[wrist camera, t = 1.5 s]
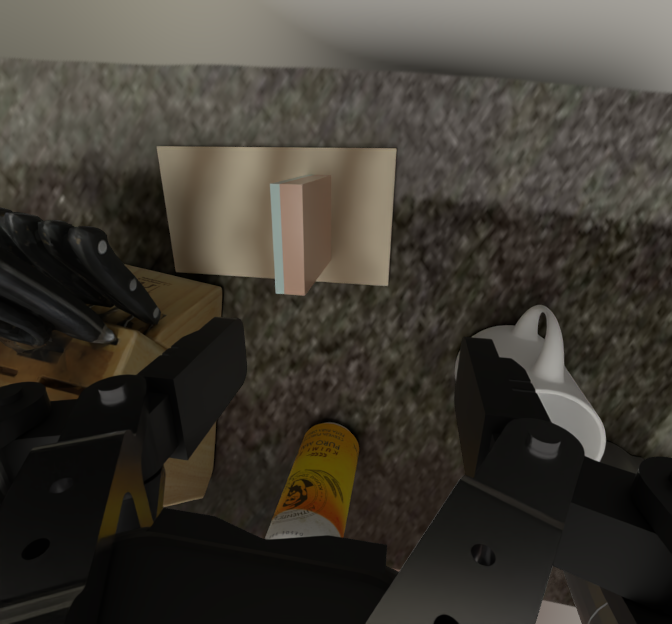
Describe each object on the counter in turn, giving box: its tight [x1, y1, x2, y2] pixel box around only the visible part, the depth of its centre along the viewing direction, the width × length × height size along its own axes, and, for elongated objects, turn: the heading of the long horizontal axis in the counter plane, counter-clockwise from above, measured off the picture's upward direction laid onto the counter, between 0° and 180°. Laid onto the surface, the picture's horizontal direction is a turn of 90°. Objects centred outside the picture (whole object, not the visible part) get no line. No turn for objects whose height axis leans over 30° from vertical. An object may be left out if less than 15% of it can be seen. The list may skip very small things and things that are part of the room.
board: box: [157, 146, 397, 286], centre depth 34 cm, size 20×11×1 cm, turn 90°
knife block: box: [0, 207, 222, 507], centre depth 28 cm, size 11×35×31 cm, turn 170°
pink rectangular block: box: [270, 174, 331, 295], centre depth 29 cm, size 2×7×9 cm, turn 0°
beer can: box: [265, 422, 359, 539], centre depth 36 cm, size 6×6×15 cm
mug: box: [455, 305, 606, 462], centre depth 31 cm, size 9×12×11 cm
